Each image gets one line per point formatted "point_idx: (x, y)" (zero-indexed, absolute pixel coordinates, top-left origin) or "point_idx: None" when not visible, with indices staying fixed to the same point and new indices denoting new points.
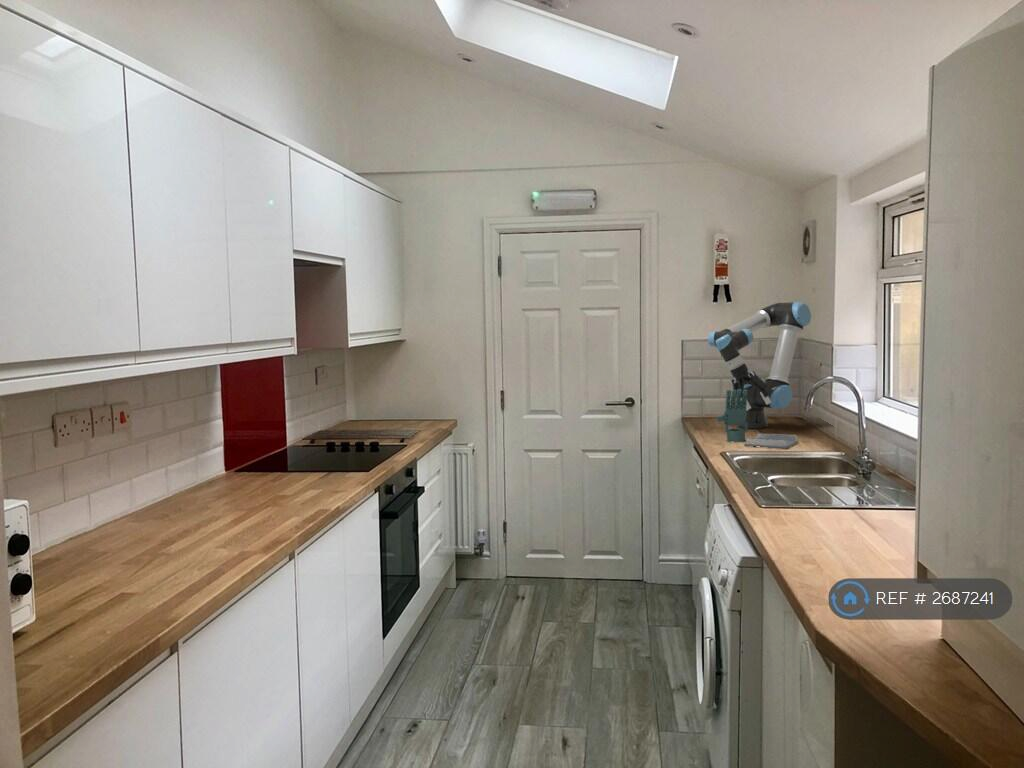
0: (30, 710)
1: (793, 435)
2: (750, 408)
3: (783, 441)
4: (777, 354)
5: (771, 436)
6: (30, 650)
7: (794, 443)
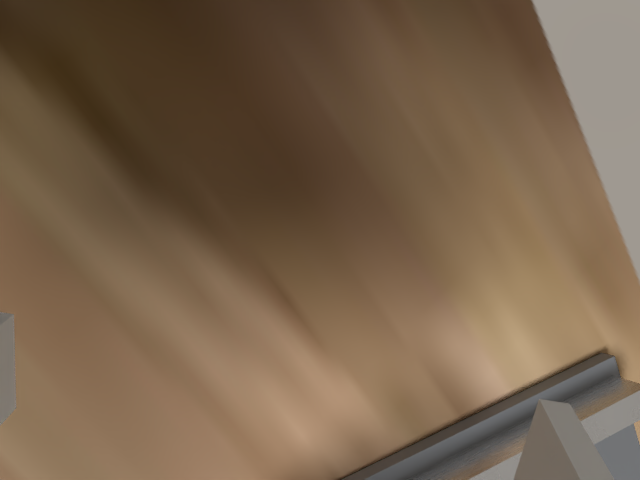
0: None
1: (635, 405)
2: (13, 337)
3: None
4: None
5: None
6: None
7: (633, 441)
